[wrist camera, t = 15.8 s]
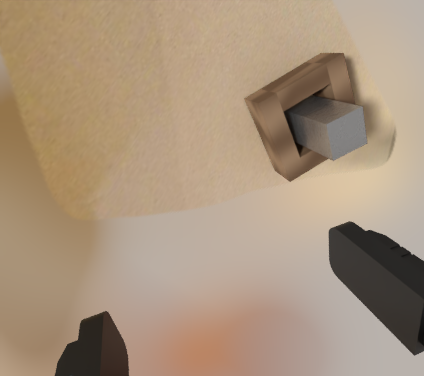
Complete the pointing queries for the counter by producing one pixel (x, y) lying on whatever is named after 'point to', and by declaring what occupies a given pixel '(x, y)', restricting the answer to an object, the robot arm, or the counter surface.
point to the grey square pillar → (327, 126)
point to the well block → (289, 96)
